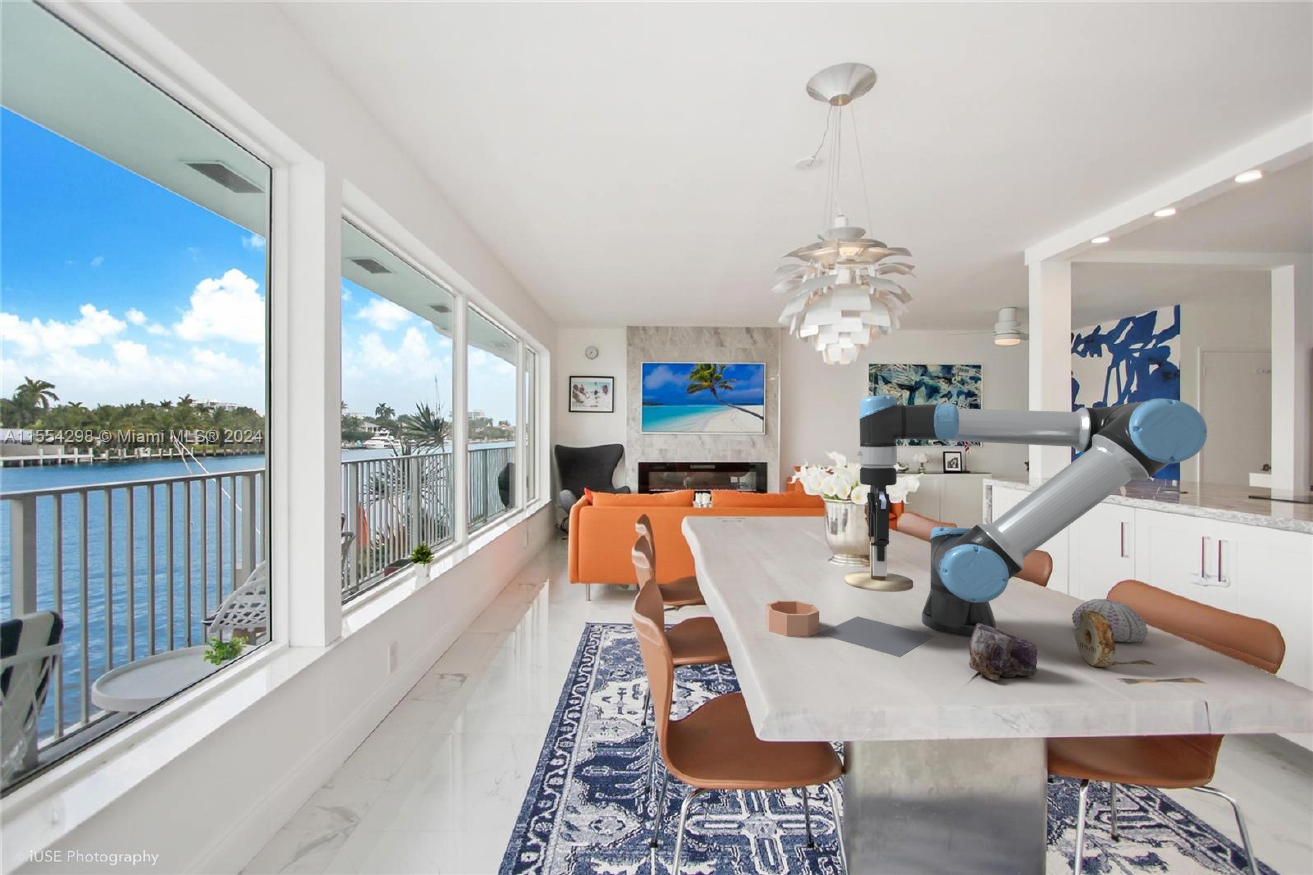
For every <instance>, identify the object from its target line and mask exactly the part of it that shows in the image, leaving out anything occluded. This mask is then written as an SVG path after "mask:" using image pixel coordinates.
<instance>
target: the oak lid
mask: <svg viewBox="0 0 1313 875" xmlns="http://www.w3.org/2000/svg"><path fill="white" fill-rule="evenodd" d="M870 542H871V543H874V537H871V541H870ZM844 583H845V584H847V585H849V586H851V587H853V588H857V589H860V590H866V591H873V592H883V593H885V592H886V593H896V592H897V593H899V592H900V593H901V592H907V591H909V590H913V588H914V581H913V579H911V578H909V577H908V576H904V575H901V574H896V573H891V572H887V576H873V546H871V572H870V570H868V571H867V570H865V571H864V570H863V571H852V572H849V573H846V574H845V575H844Z"/></svg>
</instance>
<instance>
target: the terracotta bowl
mask: <svg viewBox="0 0 1313 875" xmlns="http://www.w3.org/2000/svg"><path fill="white" fill-rule="evenodd" d="M765 625H766V627H767V629H768V631H769V632H771V633H774V634H777V635H780V636H783V637H790V638H792V637H795V638H801V637H802V638H808V637H810V636H812V635H815V634H818V633H820V610H819V608H817V606H815V604H811V603H807V602H803V601H799V600H775V601H772V602H770V603H766V604H765Z"/></svg>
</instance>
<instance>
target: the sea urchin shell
mask: <svg viewBox="0 0 1313 875" xmlns="http://www.w3.org/2000/svg"><path fill="white" fill-rule="evenodd" d="M1082 611H1095V612H1098V613H1100V614H1102V615H1103V616H1104V617H1106V618H1107V619H1108V621H1109V622H1110V625H1111V627H1112V631H1113V636H1114V642H1124V643H1139V642H1142V641H1144V640H1146V638H1147V637H1148V635H1149V631H1148V630H1149V628H1148V627H1147V623H1145V621H1144V619H1143V618H1142V616H1141V615H1140V614H1139V613H1137V611H1136V610H1134V609H1133V608H1132V607H1130V606H1129V605H1127V604H1125V603H1123V602H1120V601H1118V600H1117V601H1116V600H1113V599H1108V598H1101V599H1100V598H1094V599H1090V600H1087V601H1085V602H1083V603H1082V604H1080V605H1079V606H1078V607H1076V608H1075V610H1074V611H1073V613H1071V615H1072V617H1071V620H1072V623H1073V626H1074V628H1076V631H1077V630H1078V629H1079V625H1080V624H1079V620H1080V619H1079V615H1080V613H1081V612H1082Z"/></svg>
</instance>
